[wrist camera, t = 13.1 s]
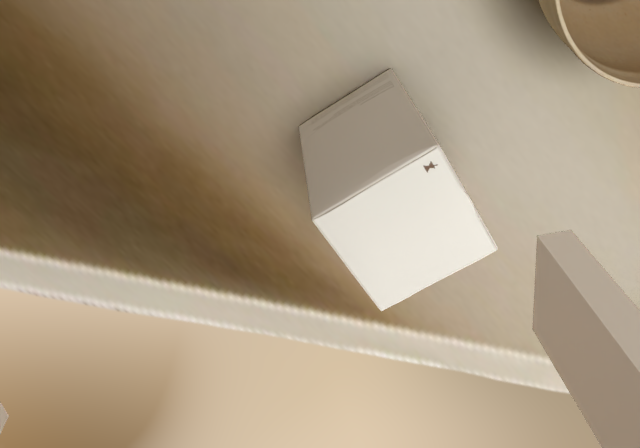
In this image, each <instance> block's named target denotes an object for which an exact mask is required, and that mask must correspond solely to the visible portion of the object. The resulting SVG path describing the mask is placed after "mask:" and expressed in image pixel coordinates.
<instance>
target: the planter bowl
mask: <svg viewBox="0 0 640 448" xmlns="http://www.w3.org/2000/svg"><path fill="white" fill-rule="evenodd" d="M538 1H539V4H540V6H541V8H542V11H543V13H544V15H545V17H546V19H547V20H548V22H549V24H550V25H551V27H552V28H553V30H554V31H555V32H556V34H557V35H558V36H559V37H560V39H561V40H562V41H563V42H564V43H565V44H566V45H567V46H568V47H569V48H570V49H571V50H572V51H573V52H574V54H575V55H576V56H577V57H578V58H579V59H580V60H581V61H582V62H583V63H584V64H585V65H586V66H588V67H589V68H590V69H592V70H593V71H594V72H596V73H597V74H599V75H601V76H602V77H604V78H606V79H608V80H611V81H613V82H616V83H619V84H622V85H626V86H630V87H638V88H640V0H538Z"/></svg>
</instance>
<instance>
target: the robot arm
mask: <svg viewBox="0 0 640 448" xmlns="http://www.w3.org/2000/svg"><path fill="white" fill-rule="evenodd" d="M532 329H533V331H534V332H535V334H536V336H537V338H538V339H539V341H540V343H541V344H542V346H543V348H544V350H545V351H546V353H547V355H548V356H549V358H550V360H551V361H552V363H553V365H554V367H555V368H556V370H557V372H558V373H559V375H560V377H561V379H562V380H563V382H564V384H565V385H566V387H567V389H568V390H569V392H570V394H571V396H572V397H573V399H574V401H575V402H576V404H577V406H578V407H579V409H580V411H581V412H582V414H583V416H584V418H585V420H586V421H587V423H588V424H589V426H590V428H591V430H592V431H593V433H594V435H595V436H596V438H597V440H598V442H599V443H600V445H601V447H602V448H640V310H639V309H638V308H637V306H636V305H635V304H634V303H633V302H632V301H631V299H630V298H629V297H628V296H627V295H626V294H625V292H624V291H623V290H622V289H621V288H620V287H619V285H618V284H617V283H616V282H615V281H614V280H613V278H612V277H611V276H610V275H609V274H608V272H607V271H606V270H605V269H604V268H603V267H602V265H601V264H600V263H599V262H598V261H597V260H596V258H595V257H594V256H593V255H592V254H591V253H590V251H589V250H588V249H587V248H586V247H585V246H584V244H583V243H582V242H581V241H580V240H579V239H578V237H577V236H576V235H575V234H574V233H573V231H572V230H567V231H561V232H555V233H549V234H543V235H537V249H536V268H535V288H534V308H533V328H532ZM7 418H8V414H7V412H6V411H5V409H4V407H3V406H2V404H1V402H0V433H1V431H2V429H3V427H4V425H5V423H6V421H7Z"/></svg>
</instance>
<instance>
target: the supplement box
mask: <svg viewBox="0 0 640 448" xmlns="http://www.w3.org/2000/svg"><path fill="white" fill-rule="evenodd" d="M299 133H300V140H301V147H302V154H303V161H304V168H305V175H306V182H307V189H308V197H309V203H310V210H311V217H312V221H313V223H314V224H315V225H316V227H317V228H318V229H319V231H320V232H321V233H322V234H323V236H324V237H325V238H326V240H327V241H328V242H329V244H330V245H331V246H332V248H333V249H334V250H335V252H336V253H337V254H338V256H339V257H340V258H341V260H342V261H343V262H344V264H345V265H346V266H347V268H348V269H349V270H350V272H351V273H352V274H353V276H354V277H355V278H356V279H357V281H358V282H359V283H360V285H361V286H362V287H363V289H364V290H365V291H366V293H367V294H368V295H369V297H370V298H371V299H372V300H373V302H374V303H375V304H376V305H377V307H378V308H379V309H380V311H383V310H385V309H386V308H388V307H390V306H392V305H394V304H396V303H398V302H400V301H402V300H404V299H406V298H408V297H410V296H411V295H413V294H415V293H417V292H418V291H420V290H422V289H424V288H426V287H428V286H430V285H432V284H434V283H435V282H437V281H439V280H441V279H443V278H445V277H447V276H449V275H451V274H453V273H455V272H457V271H459V270H461V269H463V268H465V267H467V266H469V265H470V264H472V263H474V262H476V261H478V260H480V259H482V258H484V257H486V256H487V255H489V254H491V253H493V252H495V251H496V250H497V245H496V243H495V241H494V240H493V238H492V236H491V234H490V232H489V231H488V229H487V227H486V225H485V223H484V222H483V220H482V218H481V216H480V214H479V213H478V211H477V209H476V207H475V205H474V204H473V202H472V200H471V198H470V197H469V195H468V193H467V191H466V190H465V188H464V186H463V184H462V183H461V181H460V179H459V177H458V175H457V174H456V172H455V170H454V169H453V167H452V165H451V164H450V162H449V160H448V158H447V157H446V155H445V153H444V152H443V150H442V148H441V147H440V145H439V144H438V142H437V140H436V139H435V137H434V135H433V134H432V132H431V131H430V129H429V127H428V126H427V124H426V123H425V121H424V119H423V118H422V116H421V115H420V113H419V111H418V110H417V108H416V107H415V105H414V103H413V102H412V100H411V99H410V97H409V95H408V94H407V92H406V91H405V89H404V87H403V86H402V84H401V83H400V81H399V79H398V78H397V76H396V74H395V73H394V71H393V70H392V69H389V70H387V71H385V72H384V73H382V74H381V75H379V76H377V77H376V78H374V79H373V80H371V81H370V82H368V83H366V84H365V85H363V86H362V87H360V88H358V89H357V90H355V91H354V92H352V93H350V94H349V95H347V96H346V97H344V98H342V99H341V100H339V101H338V102H336V103H334V104H333V105H331V106H330V107H328V108H327V109H325V110H323V111H322V112H320V113H319V114H317V115H315V116H314V117H312V118H311V119H309V120H307V121H306V122H305V123H303V124H302V125H300V126H299Z"/></svg>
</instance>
